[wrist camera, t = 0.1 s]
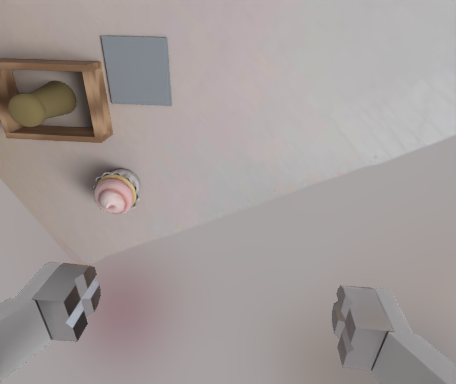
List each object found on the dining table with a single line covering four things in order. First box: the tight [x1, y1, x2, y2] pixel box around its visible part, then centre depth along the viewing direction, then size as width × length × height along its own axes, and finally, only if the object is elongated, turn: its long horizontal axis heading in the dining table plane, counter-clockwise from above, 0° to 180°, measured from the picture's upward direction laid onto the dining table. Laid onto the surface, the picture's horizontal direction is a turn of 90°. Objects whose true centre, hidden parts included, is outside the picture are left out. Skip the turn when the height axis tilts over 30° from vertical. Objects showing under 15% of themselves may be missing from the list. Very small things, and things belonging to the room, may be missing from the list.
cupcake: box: [93, 169, 140, 214], centre depth 60 cm, size 9×9×10 cm
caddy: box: [0, 58, 113, 143], centre depth 55 cm, size 13×18×5 cm
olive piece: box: [8, 81, 76, 127], centre depth 52 cm, size 6×6×11 cm
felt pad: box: [101, 36, 172, 106], centre depth 53 cm, size 11×11×1 cm
